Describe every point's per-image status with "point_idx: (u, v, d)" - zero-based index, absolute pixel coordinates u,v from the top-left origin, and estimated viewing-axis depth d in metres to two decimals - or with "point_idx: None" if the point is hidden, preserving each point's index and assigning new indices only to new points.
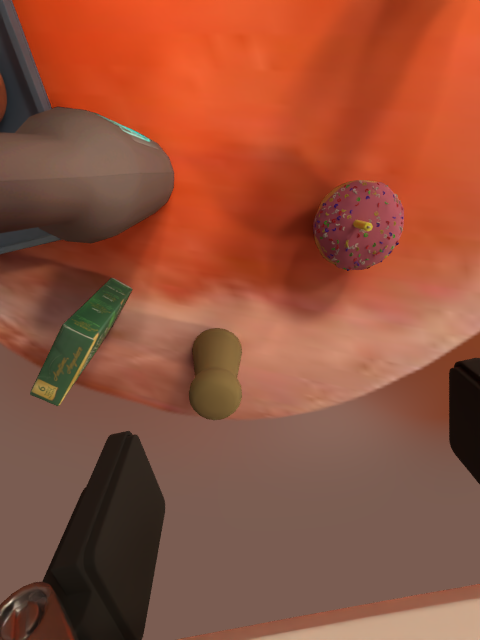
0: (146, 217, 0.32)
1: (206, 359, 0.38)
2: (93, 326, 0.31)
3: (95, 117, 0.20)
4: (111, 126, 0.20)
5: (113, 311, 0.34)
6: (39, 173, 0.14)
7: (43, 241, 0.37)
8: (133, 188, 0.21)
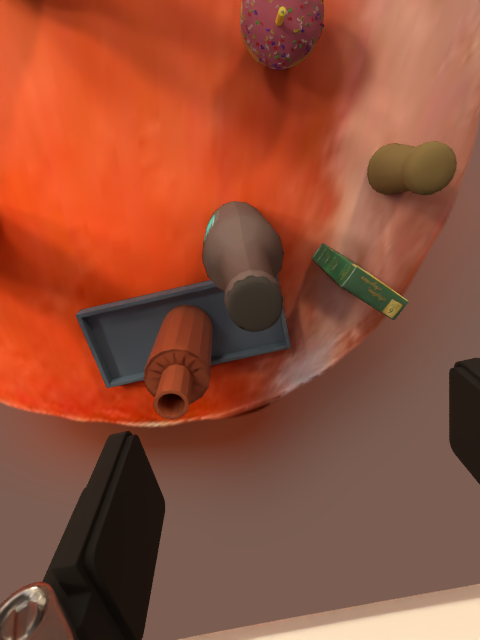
0: None
1: (394, 178, 0.42)
2: (346, 267, 0.40)
3: (207, 239, 0.32)
4: (212, 230, 0.32)
5: (337, 255, 0.43)
6: (244, 258, 0.25)
7: None
8: (249, 219, 0.32)
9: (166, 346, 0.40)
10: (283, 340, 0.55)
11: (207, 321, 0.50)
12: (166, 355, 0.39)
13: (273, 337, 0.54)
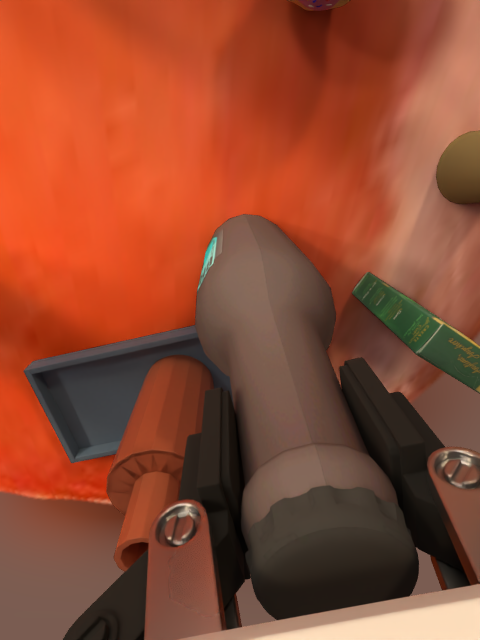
0: None
1: None
2: (421, 321, 0.26)
3: (203, 291, 0.18)
4: (211, 276, 0.18)
5: (400, 296, 0.29)
6: (283, 369, 0.11)
7: None
8: (278, 258, 0.17)
9: (141, 442, 0.26)
10: None
11: (206, 380, 0.36)
12: (140, 459, 0.25)
13: None
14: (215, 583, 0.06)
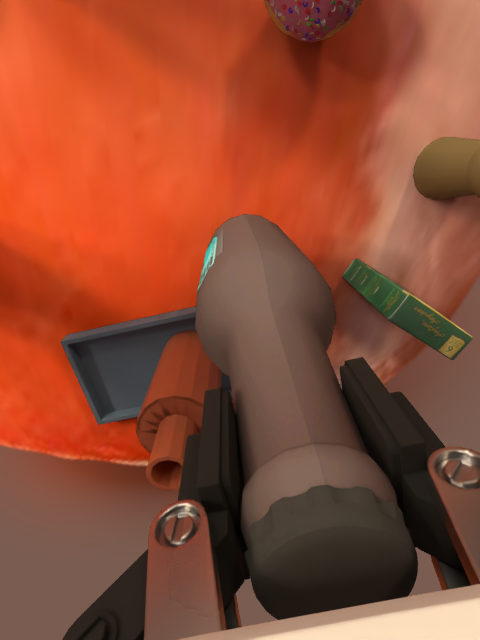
0: None
1: (453, 180, 0.33)
2: (393, 293, 0.31)
3: (203, 291, 0.18)
4: (211, 275, 0.18)
5: (379, 275, 0.35)
6: (282, 369, 0.11)
7: None
8: (278, 258, 0.17)
9: (164, 391, 0.32)
10: None
11: None
12: (164, 403, 0.31)
13: None
14: (215, 583, 0.06)
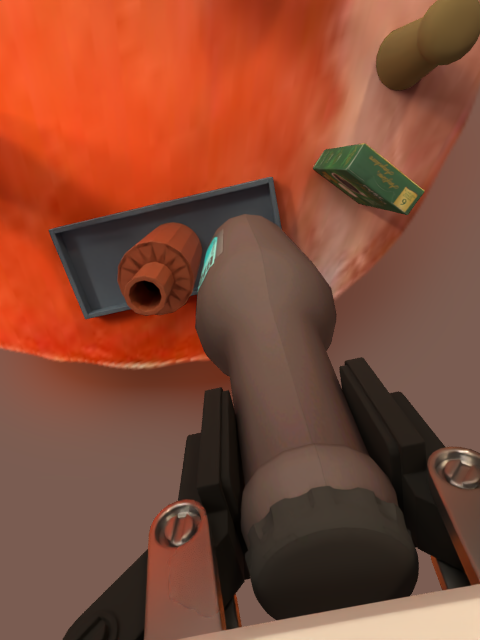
0: None
1: (407, 53, 0.36)
2: (352, 150, 0.34)
3: (203, 291, 0.18)
4: (211, 275, 0.18)
5: (342, 147, 0.38)
6: (283, 369, 0.11)
7: (277, 218, 0.45)
8: (278, 258, 0.17)
9: (143, 241, 0.34)
10: None
11: (195, 238, 0.45)
12: (142, 250, 0.34)
13: None
14: (215, 583, 0.06)
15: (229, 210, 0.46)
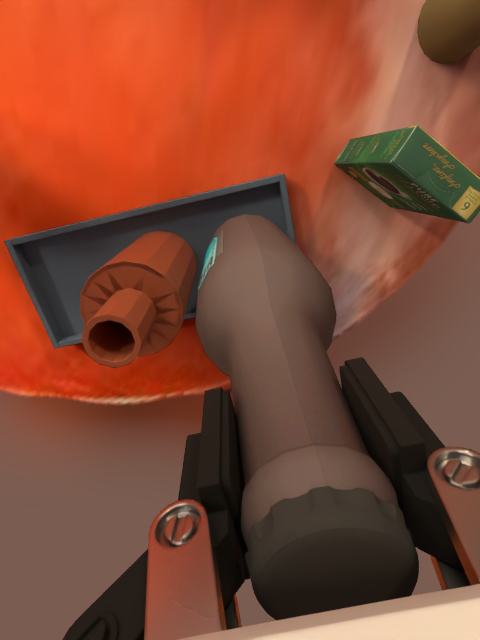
0: None
1: (467, 7, 0.27)
2: (397, 136, 0.25)
3: (203, 291, 0.18)
4: (211, 276, 0.18)
5: (378, 134, 0.29)
6: (283, 369, 0.11)
7: (290, 225, 0.36)
8: (278, 258, 0.17)
9: (114, 260, 0.25)
10: None
11: (188, 250, 0.36)
12: (113, 272, 0.25)
13: None
14: (215, 583, 0.06)
15: (230, 216, 0.37)
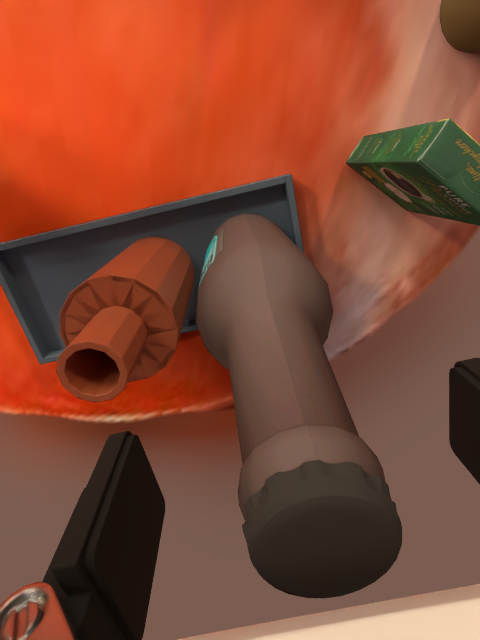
0: None
1: None
2: (424, 131, 0.22)
3: (204, 287, 0.19)
4: (211, 272, 0.19)
5: (399, 129, 0.26)
6: (279, 358, 0.12)
7: (298, 230, 0.33)
8: (276, 255, 0.18)
9: (99, 274, 0.22)
10: None
11: (185, 259, 0.33)
12: (97, 288, 0.22)
13: None
14: None
15: None
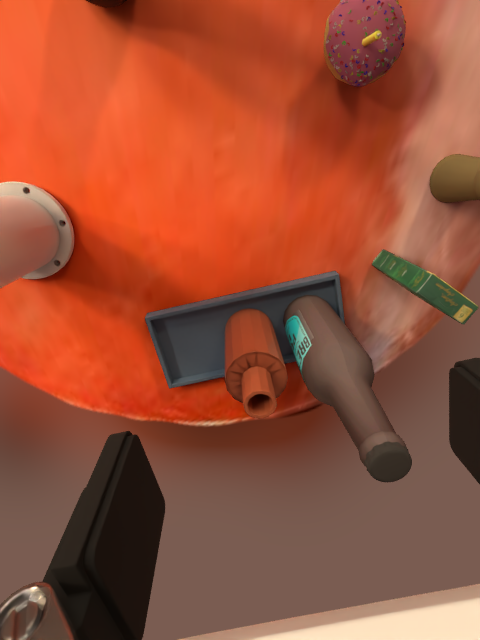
0: None
1: (462, 188, 0.43)
2: (419, 274, 0.42)
3: (311, 362, 0.38)
4: (315, 355, 0.38)
5: (405, 261, 0.45)
6: (364, 406, 0.31)
7: (341, 306, 0.53)
8: (349, 348, 0.38)
9: (247, 349, 0.42)
10: None
11: (271, 324, 0.52)
12: (248, 357, 0.41)
13: None
14: None
15: None
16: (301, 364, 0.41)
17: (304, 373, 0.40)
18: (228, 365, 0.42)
